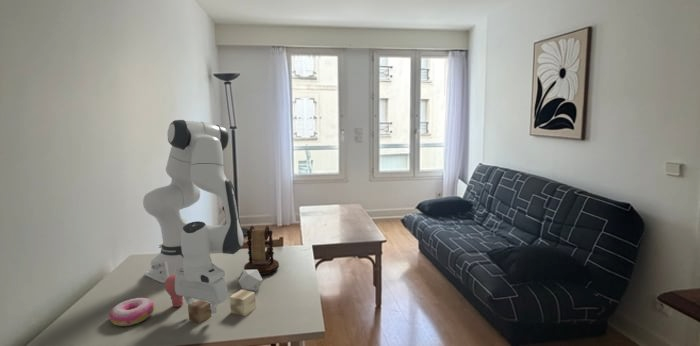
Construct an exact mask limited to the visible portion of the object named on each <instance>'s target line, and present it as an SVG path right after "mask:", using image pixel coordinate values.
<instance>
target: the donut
mask: <svg viewBox="0 0 700 346" xmlns="http://www.w3.org/2000/svg"><path fill="white" fill-rule="evenodd" d="M154 309H155V304H154V302H153V301H152V300H151V299H149V298H145V297H136V298H130V299H126V300H125V301H122V302H119V303H118V304H116V305H115V306H114V307H113V308H112V309H111V310H110V313H109V320H110V322H111V323H112V324H113V325H115V326H118V327H128V326H129V327H130V326H134V325H136V324H137V325H138V324H139V323H141V322H143V321H145V320H146V319H148V318H149V317H150V316H151V315H152V314H153V312H154Z"/></svg>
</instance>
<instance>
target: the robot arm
mask: <svg viewBox="0 0 700 346" xmlns="http://www.w3.org/2000/svg"><path fill="white" fill-rule="evenodd" d="M166 133H167V141H168V143H169V144H170V146H171V148H170V151H169V153H168V154H169V155H168V159H167V163H166V166H165V171H166V174H167V175H168V176H169V178H171V182H170V184H169V185H166V186H161V187H157V188H155V189H153V190H151V191H149V192H148V193H145V194H144V196H143V200H142V204H143V208H144V210H145V211H146V213H147V214H149V215H150V216H152V217H154V218H155V219H156V221H157V222H158V224H159V227H160V231H161V239H162V244H159V245H158V246H159V247H158V248H160V252H159V253H158V254H157V255H156V256H155V257H153V258H152V260H151V261H150V269H148V270H146V272H145V274H144V276H146V277H148V278H151V279H152V280H155V281H157V282H159V283H161V284H165V281H166V279H167V278H168V277H169V276H171V275H173V274H176V277H175V292H176V294H177V295H180V296H183V297H184V298H183V300H185V302H186V304H187V307H188V306H190V305H192V304H193V303H195V302H196V301H193V299H195V300H197V301H199V300H201V301H205V302H209V303H210V304H211V308H209V313H211V315H212V314H213V315H214V314H216V313H217V307H218V306H219V305H221V304H222V303H224V302H225V301H226V300H227V298H228V287H227V282H226V279H225V278H224V277H225V275H226V273H225V270H223V269H222V268H220V267H218V266H217V265H215V263H212V257H211V254H226V255H227V254H228V255H235V254H236V253H238V252H239V251H240V250H241V249H242V248H243V246H244V239H245V238H244V233H243V229H242V225H241V221H240V215H239V208H238V204H237V197H236V192H235V187H234V184H233V182H232V181H231V179H228V177H227V176H226V175H225V170H224V150H225V149H226V148H227V147H228V144H229V140H230V139H229V138H230V137H229V136H230V135H229V133H228V130H227V129H226V128H225V127H224V126H221V125H219V124H216V125H215V124H213V123H209V122H204V121H194V120H185V119H176V120H175V119H174V120H173V121H172V122H170V123H169V126H168V129H167V132H166ZM200 190H203V191H205V192H206V193H207V192H208V193H210V194H213V195H216V196H217V197H219V198H220V199H221V201H222V204H223V209H224V216H225V224H222V225H220V224H219V225H207V224H206V223H205V222H204V221H191V222H189V221H188V220H186V219H184V218H182V216H181V214H180V210H183V209H185V208H189V207H191V206H193V205H194V204H196V203H197V202H199V200H200V198H201V191H200Z"/></svg>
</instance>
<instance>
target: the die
mask: <svg viewBox="0 0 700 346" xmlns="http://www.w3.org/2000/svg"><path fill="white" fill-rule="evenodd" d="M262 282H263V278H262V275H261V274H259V272H258V270H244V269H243V271H242V273H241V276H240V277H239V279H238V284H239V286H240V287H241V289H242V290H246V291H251V292H258V290H259V288H260V286H261V284H262Z"/></svg>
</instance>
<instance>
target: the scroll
mask: <svg viewBox="0 0 700 346" xmlns="http://www.w3.org/2000/svg"><path fill="white" fill-rule="evenodd" d="M273 233H274V232H273V230H270V227H269V226H268V225H266V226H265V227H264V229H255V227H254V225H251V226H250V228H249V229H248V230H246V234H247V241H246V244H247V246H248V249H247V250H248V252H247V254H248V262H245V263H244V266H243V271H244V270H258V272H259V274H260V275H263V274H267V275H268V276H270V275H271V273H272V272H275V271H277V269H278V268H279V267H280V262H279V261H278V260H276V259H275V258H274V254H275V252H274V246H273V245H274V240H273ZM267 240H268V241H267ZM266 246H267V248H266Z"/></svg>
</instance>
